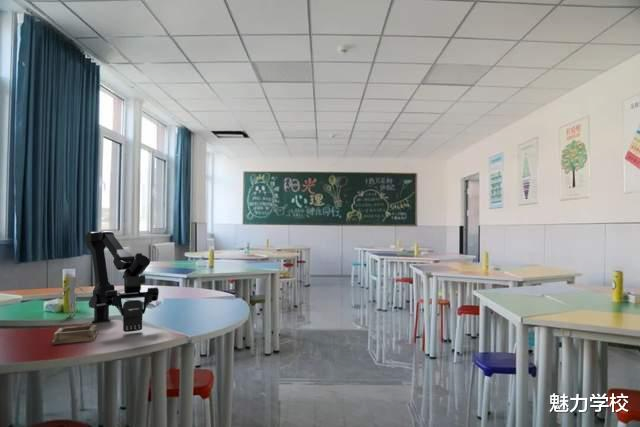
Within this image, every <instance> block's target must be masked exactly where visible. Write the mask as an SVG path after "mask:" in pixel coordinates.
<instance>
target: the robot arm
mask: <svg viewBox="0 0 640 427" xmlns="http://www.w3.org/2000/svg"><path fill="white" fill-rule="evenodd" d="M84 242H85V246H86V248H87V249H88V251H90V252H91V259H92V265H93V272H94V273H93V274H94V279H95V286H94V287H93V290H92V296H91V298H90V300H89V302H88V308H89V309H90V308H91V309H93V318H92V319H93V320H91V321H92V322H91V323H102V322H110V320H111V318H109V317H110V306H112V307H115V308H116V309H117V310H118V311H119V313H120V315H121V316H122V317H123V302H122V299H128V300H131V299H141V298H144V299H143V314H145V312H146V310H147V307H148V305H149V304H150V303H152V302H157V301H158V300H159V293H160V291H159V288H158V287H147V291H141V290H142V285H145V284H146V275H145V274H144V275H143V273H144V272H145V270H146V269H147V268H148V266H150V264H151V260H150V258H149V257H148V256H146V255H144V254H143V253H142V252H139V253H138V252H137V253H135V255H133V254H132V252H129V251H127V250H126V249H124V247H123V246H122V245H121V243H120V242H119V240H118V239H117V238H116V236H115V233H114V232H113V231H111V230H102V231H88V232H87V233H86V234H85V235H84ZM105 249H107V250H108V252H110V255H112V257H113V261H112V263H113V264H114V267H115V268H116V270H117V271H124V272H123V274H122V277H121V278H122V279H123V286H124V287H123V288H124V290H123V292H122V293H121V292H118V290H117V289H116V290H115V285H114V284H111V283H110V281H109V277H108V269H107V262H106V255H105Z"/></svg>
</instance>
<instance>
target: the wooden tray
mask: <svg viewBox="0 0 640 427" xmlns="http://www.w3.org/2000/svg"><path fill="white" fill-rule="evenodd" d="M98 335H99V331H98V330H97V324H92V325H91V324H90V325H80V326H67V327H66V326H65V327H59V328H58V329H57V330H56V331H55V332H54V333H53V340H52V341H51V345H52V346H53V345H61V344H70V343H71V344H72V343H80V342H88V341H89V342H90V341H91V342H92V341H95V340H96V338H97V336H98Z"/></svg>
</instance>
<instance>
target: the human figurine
mask: <svg viewBox="0 0 640 427" xmlns="http://www.w3.org/2000/svg"><path fill="white" fill-rule="evenodd" d="M68 283H69V284H68V285H67V286H66V287H65V289H62V291H61V292H60V293H59V294H58V295H57V298H58V297H59V296H60V295H62V294H63V293H65V292H66V290H68V289H70V290H69V292H68V295H67V297H68V302H69V304H68V306H69V316H70V315H71V316H75V315H76V301H77V297H78V293H77V291H76V288H78V289H79V290H80V291H82V292H84V293H85V294H86V295H88V293H87V292H86V291H85V290H84V289H83V288H81V287H80V286H79V285H78V284H77V276H70V277H69V280H68ZM72 306H73V313H72Z"/></svg>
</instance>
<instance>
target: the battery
mask: <svg viewBox="0 0 640 427" xmlns="http://www.w3.org/2000/svg"><path fill="white" fill-rule="evenodd" d="M143 306H144V302H143V301H142V300H141V299H134V300H131V299H130V300H126V301H124V302H123V303H122V307H123V316H122V331H123V332H125V333H130V332H137V331H141V330H143Z"/></svg>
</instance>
